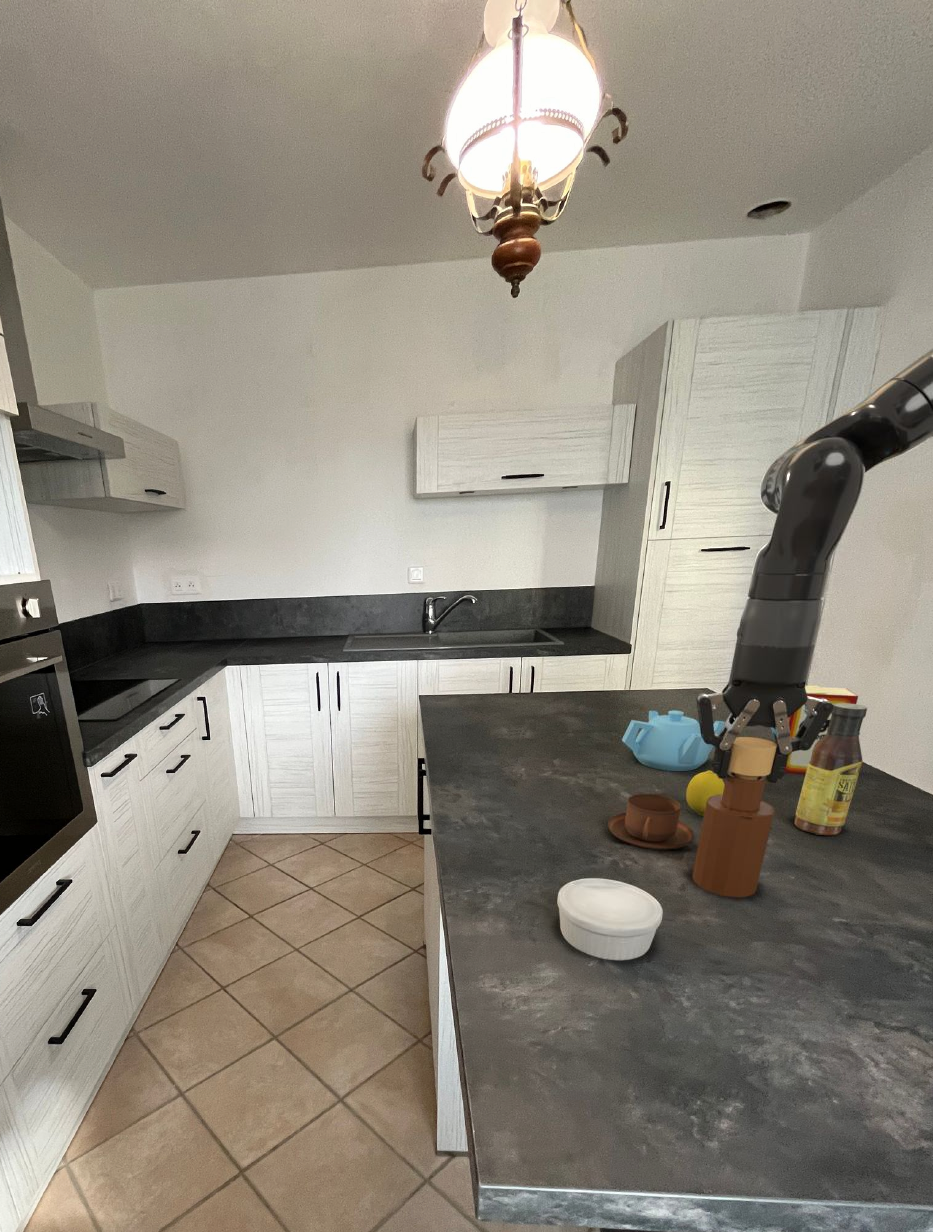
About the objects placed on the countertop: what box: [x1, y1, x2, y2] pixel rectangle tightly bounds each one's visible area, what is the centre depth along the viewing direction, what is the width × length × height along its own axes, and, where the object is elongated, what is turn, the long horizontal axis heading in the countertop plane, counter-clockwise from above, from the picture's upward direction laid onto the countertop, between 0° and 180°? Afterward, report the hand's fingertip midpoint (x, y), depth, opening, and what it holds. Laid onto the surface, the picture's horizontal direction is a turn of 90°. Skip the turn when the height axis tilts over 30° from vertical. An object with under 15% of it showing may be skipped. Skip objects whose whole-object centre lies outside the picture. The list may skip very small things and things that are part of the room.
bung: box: [727, 736, 777, 780], centre depth 76 cm, size 5×5×6 cm
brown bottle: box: [692, 770, 776, 898], centre depth 79 cm, size 7×7×16 cm
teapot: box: [621, 710, 726, 772], centre depth 127 cm, size 15×15×11 cm
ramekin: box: [556, 877, 664, 961], centre depth 71 cm, size 11×11×5 cm
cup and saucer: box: [607, 793, 695, 851], centre depth 95 cm, size 12×12×6 cm
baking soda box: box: [785, 685, 859, 775], centre depth 120 cm, size 10×6×16 cm
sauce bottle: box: [794, 703, 868, 836], centre depth 94 cm, size 6×6×20 cm
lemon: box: [685, 770, 725, 817], centre depth 102 cm, size 6×6×8 cm
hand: (745, 778), depth 77 cm, fingers closed on bung, 4 cm apart
